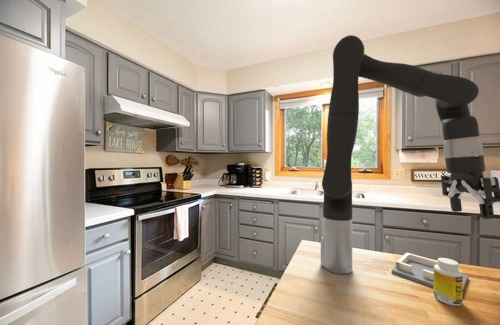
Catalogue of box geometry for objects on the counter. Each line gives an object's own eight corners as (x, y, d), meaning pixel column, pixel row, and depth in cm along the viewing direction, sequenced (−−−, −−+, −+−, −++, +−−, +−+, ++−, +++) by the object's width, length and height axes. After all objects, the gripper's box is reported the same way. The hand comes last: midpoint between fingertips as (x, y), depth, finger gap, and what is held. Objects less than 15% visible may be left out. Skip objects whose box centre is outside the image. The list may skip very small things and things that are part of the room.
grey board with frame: (391, 272, 69) (391, 263, 69) (405, 259, 78) (405, 251, 78) (460, 297, 57) (460, 286, 57) (467, 278, 66) (467, 268, 66)
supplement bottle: (459, 310, 52) (459, 268, 52) (430, 298, 57) (430, 259, 56) (465, 301, 55) (465, 262, 55) (437, 290, 60) (437, 254, 60)
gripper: (429, 157, 66) (435, 210, 65) (473, 155, 52) (482, 222, 51) (455, 155, 65) (462, 208, 65) (507, 151, 51) (516, 220, 51)
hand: (471, 214), depth 58 cm, fingers open, 8 cm apart
